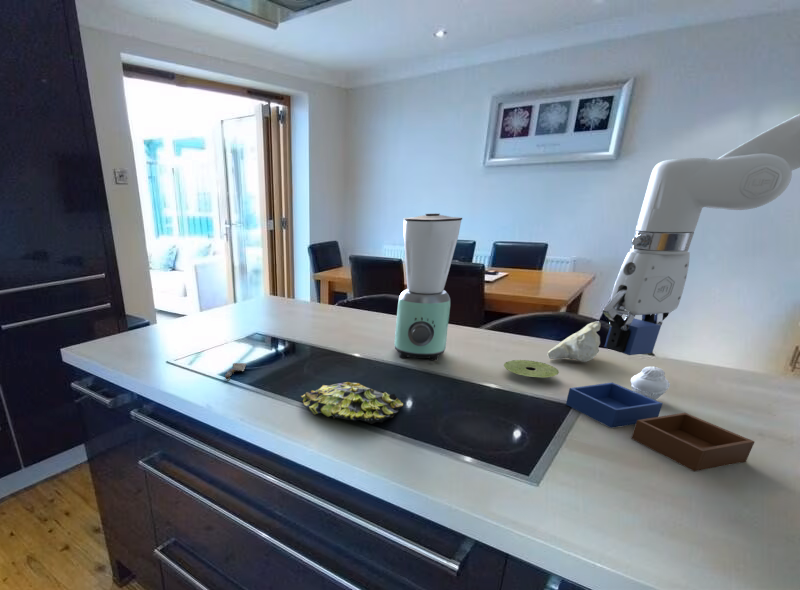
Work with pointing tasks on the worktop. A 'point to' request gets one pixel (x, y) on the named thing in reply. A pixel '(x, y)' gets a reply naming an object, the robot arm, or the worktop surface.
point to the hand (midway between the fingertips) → (628, 347)
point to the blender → (426, 285)
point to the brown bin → (692, 441)
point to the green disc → (531, 368)
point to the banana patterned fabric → (352, 402)
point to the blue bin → (612, 404)
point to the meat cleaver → (235, 369)
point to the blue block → (640, 337)
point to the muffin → (650, 382)
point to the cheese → (578, 344)
